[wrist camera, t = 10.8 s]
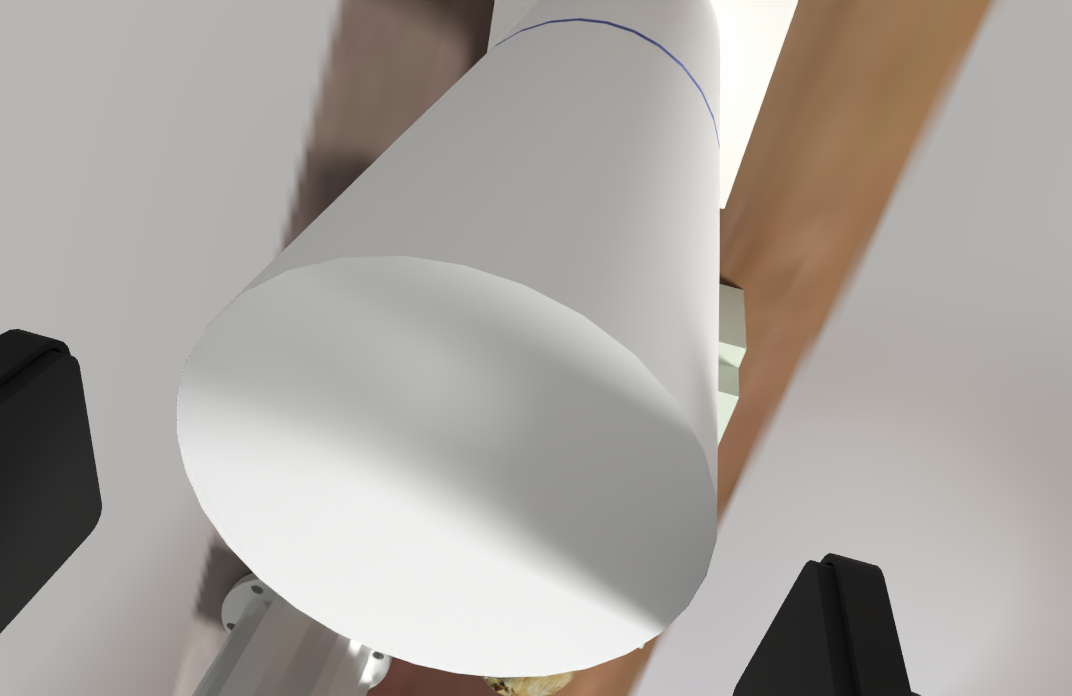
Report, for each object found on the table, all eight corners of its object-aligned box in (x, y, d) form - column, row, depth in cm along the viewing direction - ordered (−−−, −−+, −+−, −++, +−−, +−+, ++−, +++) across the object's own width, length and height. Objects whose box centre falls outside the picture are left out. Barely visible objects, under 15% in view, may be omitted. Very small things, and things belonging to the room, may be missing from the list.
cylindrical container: (745, -29, 29) (804, 348, 8) (691, 159, 33) (641, 725, 12) (552, -69, 29) (143, 188, 9) (523, 120, 33) (199, 603, 13)
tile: (723, 199, 34) (724, 209, 33) (479, 136, 35) (473, 144, 34) (823, -84, 28) (826, -81, 27) (523, -154, 29) (517, -154, 28)
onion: (455, 595, 52) (417, 705, 46) (510, 528, 48) (477, 639, 41) (553, 647, 53) (529, 762, 47) (617, 586, 49) (600, 703, 42)
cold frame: (655, 513, 45) (641, 648, 38) (401, 442, 46) (340, 561, 38) (743, 290, 36) (749, 408, 29) (430, 207, 37) (358, 302, 30)
